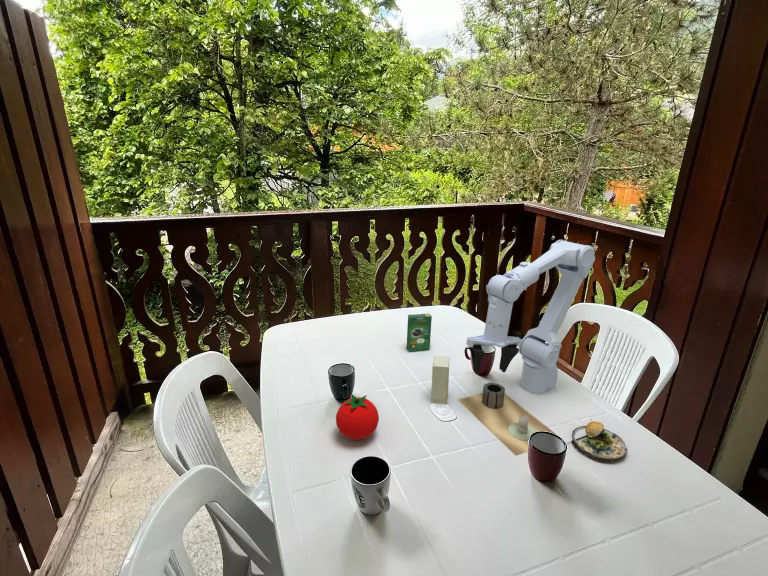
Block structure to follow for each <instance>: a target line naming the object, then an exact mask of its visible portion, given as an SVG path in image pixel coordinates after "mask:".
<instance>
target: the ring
mask: <svg viewBox="0 0 768 576" xmlns="http://www.w3.org/2000/svg"><path fill="white" fill-rule="evenodd" d="M482 387H483V388H482V393H483V395H482V403H483V404H484V405H485V406H486V407H488V408H492V409H495V408H496V409H499V408H502V407H503V404H504V396H505V394H506V388H505V387H504V386H503V385H502V384H500V383H496V382H487V383H485V384H483V386H482Z"/></svg>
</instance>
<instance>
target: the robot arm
mask: <svg viewBox="0 0 768 576" xmlns="http://www.w3.org/2000/svg"><path fill="white" fill-rule="evenodd" d="M595 260H596V256H595V251H594V248H593V246H592V245H590V244H588V245H585V244H580V243H576V242H572V241H566V240H564V239H558V240H556V241H555V242H554V243H551V245H550V247H549V250H547V251H546V252H545V253H543V254H541V255H540V256H539V257H538V258H537V259H535V260H534V261H533V262H529V261H521V262H520V263H519V265H518V266H516V267H514V268H512V269H511V270H509V271H506V272H505V273H504V274H503V275H501V274H496V275H495V276H492V277H491V278H490V279H489V281H488V284H486V285H485V286H486V287H485V289H486V293H487V296H488V297H487V302H488V308H487V312H486V313H487V314H486V320H485V327H484V333H483V334H481V335H475V336H469V337H468V336H467V338H466V345H467V346H468V349H469V351H470V355H471V360H472V368H473V369H472V370H473V371H474V373H476V374H479V373H480V371H481V370H480V369H481V365H482V360H483V357H484V355H485V353H486V352H485V351H484V350H483V347H492V346H493V347H494V346H495V347H497V348H500V350H501V351H500V352H501V353H500V359H499V360H500V361H499V367H498V368H499V370H500V371H501V372H502V373H506V372H507V370H508V367H509V365H510V364H511V362H512V360H513V359H514V358H515V357H516V356H517V355H518V354H520V355H521V360H523V361H522V362H523V363H522V371H521V379H520V387H521V389H523V390H524V391H525V392H528V393H530V394H535V395H540V394H544V393H546V392H548V391H551V390H553V391H554V392H555V393H558V390H557V389H556V386H557V381H558V380H557V379H558V374H559V371H558V370H559V369H558V365H557V362H558V360H559V358H560V352H561V348H562V347H563V346H562V343H561V341H560V339H559V337H558V336H557V334H558V333H559V331H560V328H561V326H562V324H563V323H564V320H565V319H566V316H567V314H568V312H569V310H570V308H571V305H572V303H573V301H574V299H575V297H576V296H577V293H578V291H579V290H580V287H581V285H582V283H583V281H584V279H587V277H588V275H589V273H590V271H591V268H592V266H593V264H594V262H595ZM553 268H556V269H557V271H558V272H560V275H561V278H560V280H559V282H558V285H557V287H556V289H555V291H554V293H553V295H552V297H551V299H550V301H549V303H548V305H547V307H546V310H545V312H544V313H543V316H542V318H541V320H540V322H539V325H538V326H537V327H534V328H531V329H528V330H527V332H526V334H525V335H524V337H523V338H522V339H521V338H520V337H519V336H508V333H509V327H510V322H511V316H512V312H513V311H512V310H513V306H514V302H516V301H517V300H518V298H519V297H520V295H521V294H522V293H523V292H524V290H525V289H526V288H528V287H530V286H531V285H532V284H534V283H536V282H538V281H539V279H540V275H541V274H543V273H545V272H546V271H549V270H551V269H553ZM540 339H541V340H540ZM544 341H545V342H544Z"/></svg>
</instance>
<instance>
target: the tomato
mask: <svg viewBox="0 0 768 576" xmlns="http://www.w3.org/2000/svg"><path fill="white" fill-rule="evenodd" d="M350 395H351V398H349V399H347V400H343V403H342V404H341V405H340V406H339V407H338V410H337V411H336V414H335V423H336V427H337V428H338V430H339V432H340V434H341V435H343V436H344V437H345V438H348V439H350V440H355V441H357V440H364V439H367V438H368V437H370V436H371V435H372V434H374V432H375V431H376V429H377V428H378V424H379V421H380V415H379V411H378V409H377V407H376V405H375V404H374V403H373V402H372V401H371V400H369V399H368V398H366V397H367V394H366V395H363V396H362V397H356V396H355V395H354V394H352V393H351V394H350Z"/></svg>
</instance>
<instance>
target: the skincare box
mask: <svg viewBox="0 0 768 576" xmlns="http://www.w3.org/2000/svg"><path fill="white" fill-rule="evenodd" d="M432 361H433V362H432V371H431V372H432V373H431V374H432V375H431V403H433V404H441V405H447V404H448V399H449V382H450V381H449V379H450V378H449V377H450V374H449V373H450V357H448V356H439V355H434V356H433V360H432Z"/></svg>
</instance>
